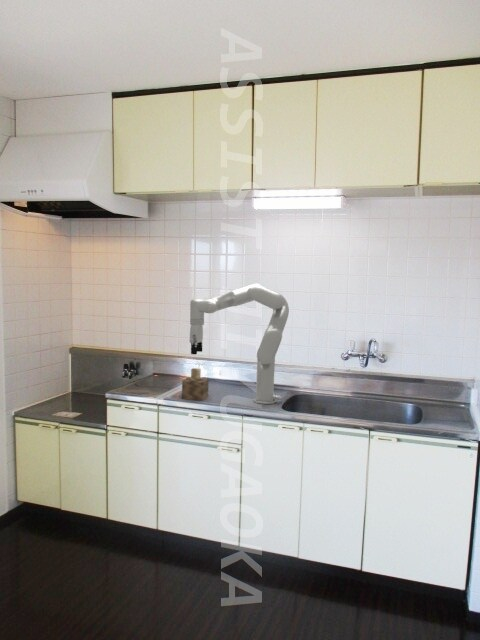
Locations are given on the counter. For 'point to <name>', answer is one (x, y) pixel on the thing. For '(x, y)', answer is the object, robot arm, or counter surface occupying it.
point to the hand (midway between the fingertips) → (196, 352)
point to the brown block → (195, 389)
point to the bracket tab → (195, 374)
